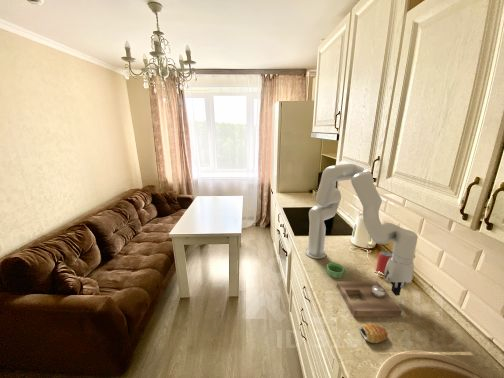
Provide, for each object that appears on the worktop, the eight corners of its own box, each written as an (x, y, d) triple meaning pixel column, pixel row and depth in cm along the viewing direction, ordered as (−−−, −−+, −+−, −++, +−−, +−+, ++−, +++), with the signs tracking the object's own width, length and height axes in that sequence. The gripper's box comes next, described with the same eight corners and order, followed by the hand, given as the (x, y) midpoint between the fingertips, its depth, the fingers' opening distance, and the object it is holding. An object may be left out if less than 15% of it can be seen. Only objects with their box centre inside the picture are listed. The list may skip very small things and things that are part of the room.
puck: (369, 290, 100) (369, 285, 99) (379, 290, 100) (380, 285, 99) (375, 298, 95) (376, 293, 95) (386, 298, 95) (387, 293, 95)
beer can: (387, 270, 120) (391, 251, 117) (391, 277, 114) (395, 257, 111) (374, 268, 122) (377, 249, 119) (377, 275, 116) (381, 255, 113)
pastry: (379, 327, 85) (380, 319, 84) (392, 342, 78) (393, 334, 77) (357, 329, 84) (358, 321, 83) (368, 345, 77) (369, 336, 76)
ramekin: (326, 267, 122) (326, 261, 121) (343, 271, 119) (344, 264, 118) (325, 277, 114) (326, 270, 113) (344, 281, 111) (344, 274, 110)
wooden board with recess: (336, 286, 107) (337, 281, 106) (376, 286, 107) (377, 281, 107) (353, 316, 90) (354, 310, 89) (400, 316, 90) (401, 310, 89)
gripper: (412, 252, 97) (405, 287, 101) (380, 253, 97) (374, 287, 101) (426, 262, 89) (417, 299, 94) (390, 262, 89) (384, 299, 94)
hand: (395, 293), depth 98 cm, fingers closed
